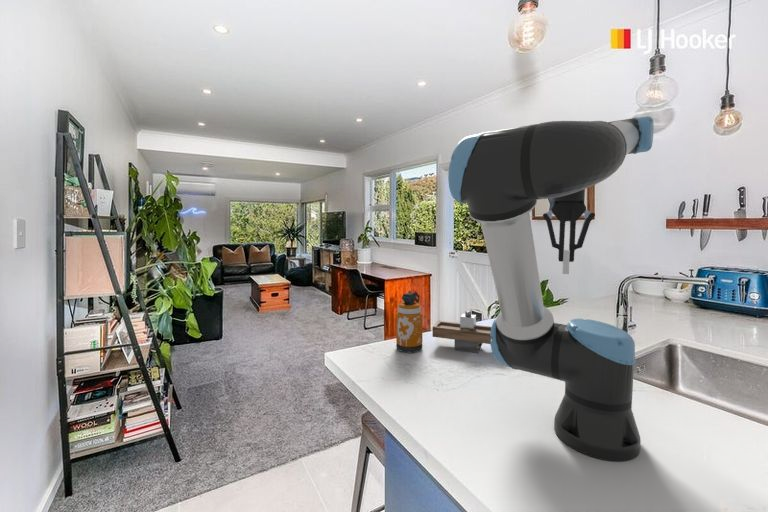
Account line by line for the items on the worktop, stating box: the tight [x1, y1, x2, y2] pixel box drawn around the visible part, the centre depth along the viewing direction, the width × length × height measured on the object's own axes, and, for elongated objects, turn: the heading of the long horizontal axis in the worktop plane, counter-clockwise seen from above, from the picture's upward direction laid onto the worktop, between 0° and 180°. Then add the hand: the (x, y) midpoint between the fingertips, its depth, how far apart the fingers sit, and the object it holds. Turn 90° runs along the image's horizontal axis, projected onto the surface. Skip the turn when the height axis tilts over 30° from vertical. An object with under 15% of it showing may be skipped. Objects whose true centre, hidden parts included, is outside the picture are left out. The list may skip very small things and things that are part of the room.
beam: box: [431, 320, 492, 354], centre depth 124 cm, size 8×23×8 cm, turn 66°
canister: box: [395, 290, 423, 353], centre depth 125 cm, size 9×11×20 cm
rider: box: [459, 310, 477, 331], centre depth 124 cm, size 4×4×6 cm
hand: (565, 273), depth 100 cm, fingers closed
